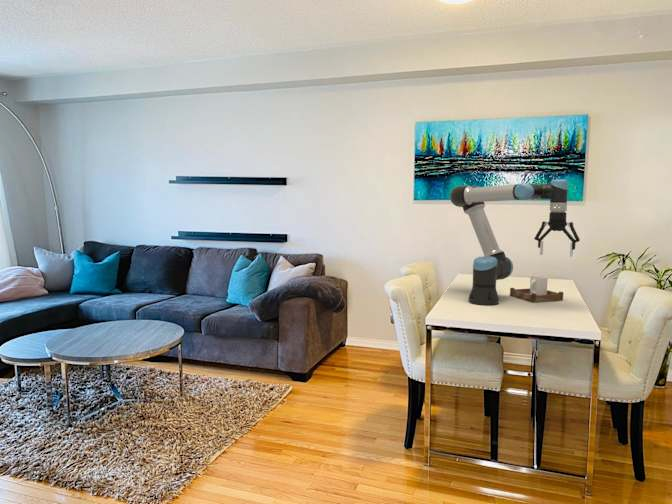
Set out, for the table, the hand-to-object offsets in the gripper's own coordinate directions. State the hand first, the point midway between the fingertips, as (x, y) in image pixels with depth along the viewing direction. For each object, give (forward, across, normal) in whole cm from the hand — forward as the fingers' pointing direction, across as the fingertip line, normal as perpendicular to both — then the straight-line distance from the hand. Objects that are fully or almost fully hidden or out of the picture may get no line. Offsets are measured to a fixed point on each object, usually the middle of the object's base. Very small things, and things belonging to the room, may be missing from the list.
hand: (555, 255), depth 252 cm
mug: (+25, -13, +22) cm, 36 cm away
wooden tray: (+26, -13, +22) cm, 36 cm away
